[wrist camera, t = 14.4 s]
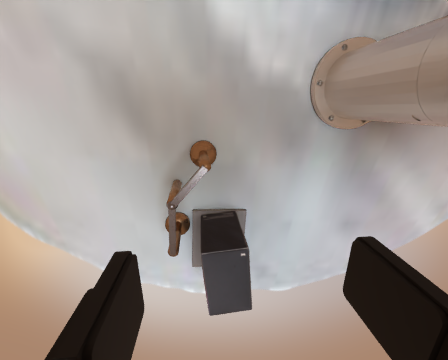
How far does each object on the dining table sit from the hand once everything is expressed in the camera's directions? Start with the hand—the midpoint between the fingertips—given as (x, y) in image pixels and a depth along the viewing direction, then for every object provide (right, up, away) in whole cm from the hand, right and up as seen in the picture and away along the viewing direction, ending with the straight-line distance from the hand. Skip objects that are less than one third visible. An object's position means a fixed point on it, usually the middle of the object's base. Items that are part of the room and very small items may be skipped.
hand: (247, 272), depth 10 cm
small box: (-2, -6, +29) cm, 30 cm away
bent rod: (-7, +2, +26) cm, 27 cm away
